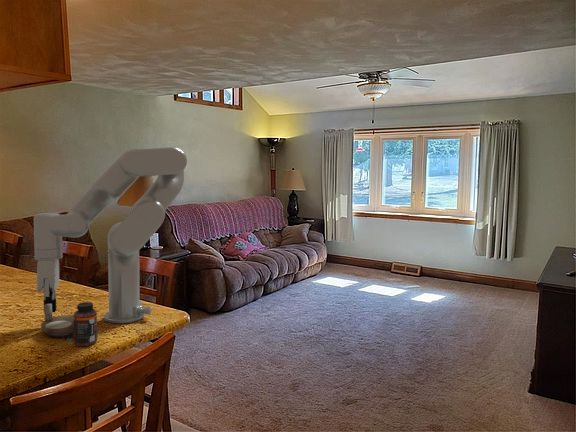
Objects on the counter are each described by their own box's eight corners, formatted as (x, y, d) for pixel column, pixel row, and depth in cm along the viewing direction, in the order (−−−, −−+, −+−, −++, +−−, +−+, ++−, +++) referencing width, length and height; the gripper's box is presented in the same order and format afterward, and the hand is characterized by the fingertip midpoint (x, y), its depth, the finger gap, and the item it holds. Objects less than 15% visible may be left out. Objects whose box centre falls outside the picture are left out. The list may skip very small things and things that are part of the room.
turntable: (97, 320, 139) (97, 299, 138) (76, 335, 126) (75, 313, 125) (56, 318, 139) (56, 298, 139) (31, 333, 126) (30, 311, 126)
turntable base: (92, 326, 137) (92, 322, 137) (70, 341, 125) (70, 337, 125) (59, 324, 138) (58, 321, 138) (34, 340, 125) (34, 336, 125)
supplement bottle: (99, 344, 124) (98, 305, 122) (76, 348, 120) (75, 308, 119) (94, 337, 128) (94, 299, 127) (72, 341, 125) (71, 302, 124)
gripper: (39, 249, 141) (41, 305, 143) (29, 258, 127) (31, 320, 129) (65, 248, 143) (67, 303, 145) (58, 257, 129) (60, 318, 131)
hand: (50, 311), depth 137 cm, fingers closed
